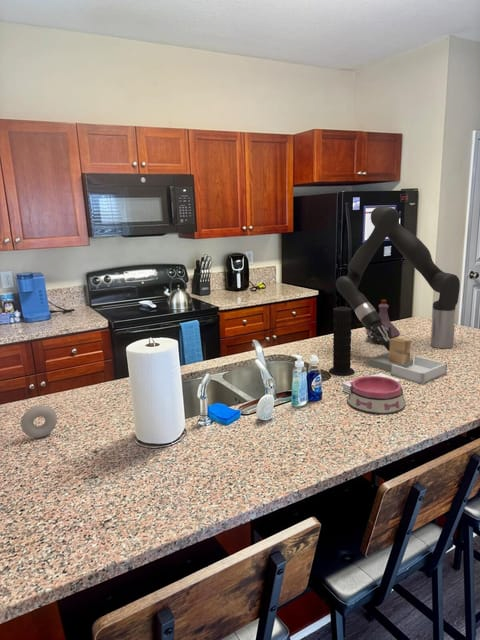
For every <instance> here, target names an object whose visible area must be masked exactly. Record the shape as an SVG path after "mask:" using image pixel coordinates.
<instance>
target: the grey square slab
mask: <svg viewBox="0 0 480 640" xmlns="http://www.w3.org/2000/svg"><path fill="white" fill-rule="evenodd" d="M368 362H369V363H368V367H371V368H374V369H378V370H381V371H385V372H387V373H391V371H392V365H393V364H394V365H397V366H401V367H404V368H406V367H409V366H412V365H414V359H413V358H410V362H408V363H405V364H403V365H401V364H398V363H394V362H391V361H389V352H384V353H383V354H379V355H377V356H374V357H371V358H369V359H368Z"/></svg>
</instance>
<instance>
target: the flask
mask: <svg viewBox="0 0 480 640" xmlns="http://www.w3.org/2000/svg"><path fill="white" fill-rule="evenodd" d="M389 307H390V306H389V304H387V299H381V300H380V304H378V309H379V312H378V315H379V316H380V317H381V319H382V321H381V323H382V324H383V325H384V326H385V327H386V328H389V327H390V328H391V333H392V338H396V337H399V336H401V333H400V330H398V329H397V327H396V326H395V325H394V324H393V323H392V322H391V321H390V317H389V313H388V310H389ZM365 330H366V331H365V332H366V335H367V336H368V335H369V334H370V332H369V330H367V329H365ZM385 338H386V337H385ZM370 340H371V341H372V342H373V343H377V342H375V341H373V340H372V339H370ZM377 344H378V343H377Z"/></svg>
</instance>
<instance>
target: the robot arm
mask: <svg viewBox="0 0 480 640" xmlns="http://www.w3.org/2000/svg"><path fill="white" fill-rule="evenodd" d="M370 213H371V214H370V221H371V224H372V225H373V227H374V228H373V230H372V232H371V233H370V235H369V236H368V238H367V239H366V240H365V241H364V242H363V244H362V245H360V246H359V248H358V249H357V250H356V251H355V253H354V255H353V257H352V258H351V260H350V262H349V264H348V266H347V269H348V273H347V275H342V276H339V277H338V278H337V279H336V280H335V281H336V282H335V286H336V289H337V291H338V293H339V294H340V295H341V296H342V297H343V298H344V300H346V301H347V302H348V304H349V305H350V308H351V309H352V310H353V311H354V312H355V315H356V317H357V318H358V320H359V321H360V322H361V324H362V325H363V327H364V329H365V330H369V332H370V334H369V335H367V338H369V339H370V340H371V339H372V340H373V341H375V342H374V343H376V342H377V344H378V345H380V344H382V345H383V346H384V347H385V348H386V350H387V351H388V352H389V348H390V339H392V333H391V328H390V327H389V328H386V327H385V326H384V325H383V324H382V323H381V321H382V319H381V317H380V316H379V312H377V310H376V308H375V307H374V305H372V304H371V303H370V302H369V300H368V299H367V297H366V296H365V295H364V294H363V293H362V292H360V290H359V289H358V287H359V285H360V283H361V281H362V278H363V274H364V272H365V271H366V269H367V267H368V265H369V264H370V262H371V260H372V259H373V257H374V255H375V254H376V252H377V251H378V250H379V248H380V246H381V245H382V244H383V243H384V241H385V240H386V239H387V238H388V239H389V240H390V241H391V243H392V244H393V245H394V247H395V248H396V249H397V251H398V252H399V253H400V254H401V255H402V257H404V259H406V260H407V262H409V263H410V264H411V265H412V266H413V268H414V269H415V270H416V271H418V273H419V274H420V275H421V276H422V277H423V279H424V280H425V281H426V282H427V284H428V285H429V286H430V288H431V289H432V290H433V291H435V293H438V294H439V297H438V300H435V301H434V302H433V303H432V314H431V315H432V317H431V333H430V346H431V347H433V348H437V349H451V348H453V347H454V341H455V340H454V339H455V318H456V306H457V305H458V302H459V295H460V288H461V284H460V283H461V281H460V279H459V277H458V275H456V274H454V273H449V272H445V271H443V270H441V269H440V267H438V266H437V265H436V263H435V262H434V261H433V258H432V254H431V252H430V250H429V248H428V247H427V246H426V244H424V243H423V242H422V240H420V238H418V237H417V236H416V235H414V234H413V233H412V232H411V231H409V230H408V229H406V228H405V227H404V226H402V224H400V222H399V220H400V213H399V211H398V210H397V209H395V208H393V207H390V206H384V205H381V206H377V207H375V208H374V209H373V210H372V211H371V212H370ZM385 337H386V338H385ZM372 340H371V341H372ZM373 341H372V342H373Z"/></svg>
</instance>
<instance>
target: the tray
mask: <svg viewBox="0 0 480 640" xmlns="http://www.w3.org/2000/svg"><path fill="white" fill-rule="evenodd" d="M447 371H448V363H447V362H443V361H439V360H438V361H437V360H434V359H430V358H426V357H422V356H418V355H415V356H414V360H413V365H412V366H409V367H406V368H404V367H401V366H397V365H394V364H393V365H392V371H391V372H390V373H391V375H390V376H393V377H394V376H395V377H397V378H401V379H404V380H407V381H410V382H414V383H417V384H420V385H424V384H426V383H428V382H431V381H433V380H435V379H437V378H439V377H442V376H444V375H447V373H448V372H447Z"/></svg>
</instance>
